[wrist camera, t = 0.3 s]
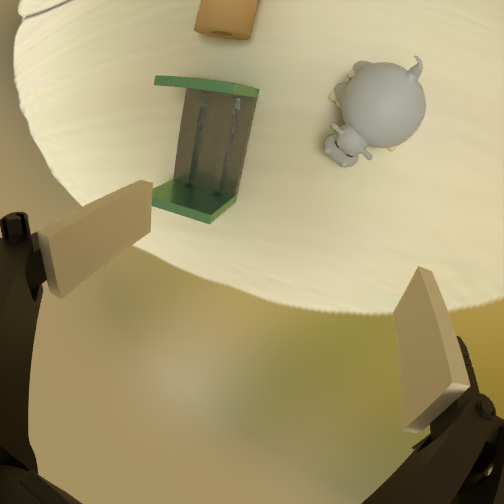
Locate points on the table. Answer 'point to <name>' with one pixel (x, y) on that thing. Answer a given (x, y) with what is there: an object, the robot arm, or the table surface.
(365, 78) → the hippopotamus toy
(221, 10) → the cylinder
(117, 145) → the table surface
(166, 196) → the holder
